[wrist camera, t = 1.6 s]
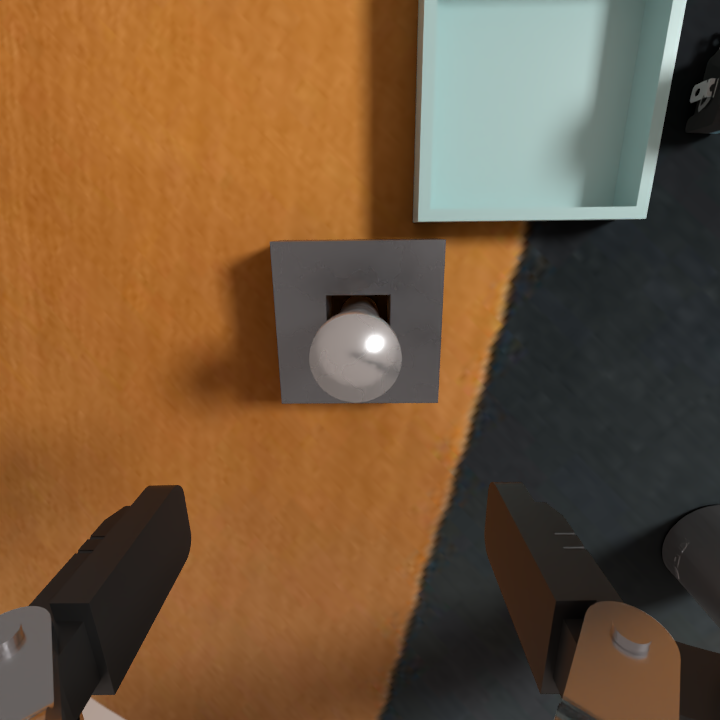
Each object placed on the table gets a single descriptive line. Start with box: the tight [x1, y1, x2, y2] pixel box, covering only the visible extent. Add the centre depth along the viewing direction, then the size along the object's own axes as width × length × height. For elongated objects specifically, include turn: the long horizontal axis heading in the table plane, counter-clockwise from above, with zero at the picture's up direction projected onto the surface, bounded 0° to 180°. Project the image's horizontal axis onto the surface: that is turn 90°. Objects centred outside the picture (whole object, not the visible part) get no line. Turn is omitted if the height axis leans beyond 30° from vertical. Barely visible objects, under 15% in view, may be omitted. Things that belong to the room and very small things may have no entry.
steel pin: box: [309, 295, 402, 403], centre depth 28 cm, size 5×5×12 cm
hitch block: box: [270, 239, 446, 403], centre depth 32 cm, size 12×12×4 cm
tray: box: [413, 0, 687, 223], centre depth 28 cm, size 16×16×4 cm
